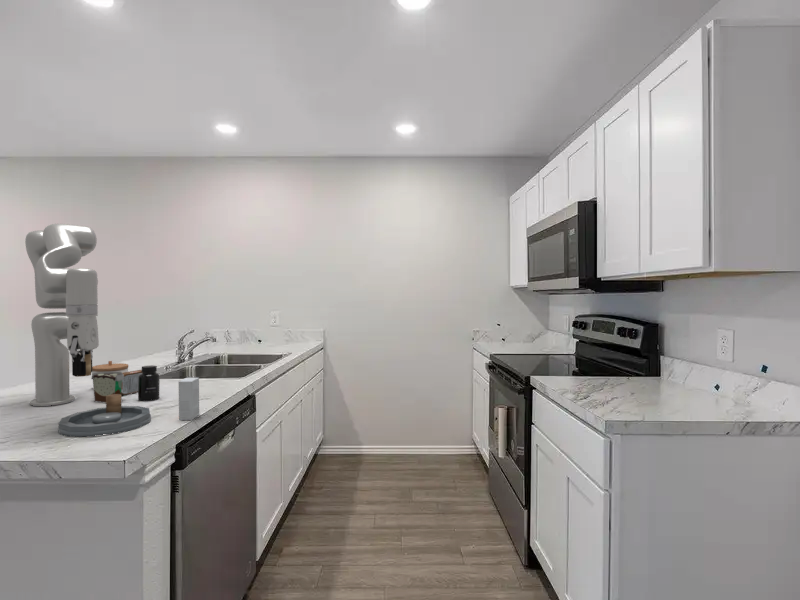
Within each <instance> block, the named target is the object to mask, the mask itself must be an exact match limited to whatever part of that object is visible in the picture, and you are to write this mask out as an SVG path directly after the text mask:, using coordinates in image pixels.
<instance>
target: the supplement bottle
mask: <svg viewBox="0 0 800 600" xmlns="http://www.w3.org/2000/svg"><path fill="white" fill-rule="evenodd" d="M140 370H141V372H142V374H140V375H139V377H138V392H137V399H138V400H139V401H140V402H148V401H155V400H158V399H159V398H160V380H161V379H160V378H161V377H160V373H157V371H158V370H157V365H154V364H153V365H144V366H141V369H140Z"/></svg>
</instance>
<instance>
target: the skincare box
mask: <svg viewBox="0 0 800 600" xmlns="http://www.w3.org/2000/svg"><path fill="white" fill-rule="evenodd" d="M199 415H200V377H185V378H182V379H180V380H179V381H178V420H179V421H193V420H194V419H195V418H197V417H198V416H199Z"/></svg>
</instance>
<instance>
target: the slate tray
mask: <svg viewBox="0 0 800 600" xmlns="http://www.w3.org/2000/svg"><path fill="white" fill-rule="evenodd" d="M150 412H151V411H150V408H149V407H144V406H140V405H121V413H118V412H110V413H106V406H105V407H98V408H92V409H87V410H83V411H78V412H74V413H72V414H69V415H66V416H64V417H62V418H61V419H60V421H59V422H58V428H57V430H58V432H57V433H58V434H59V433H60V434H59V435H61V434H62V435H61V436H64V435H65V437H70V436H75V437H74V438H83V437H82V436H93V437H96V436H95V435H103V434H110V435H113V434H112V433H116V434H119V433H118V432H121V433H125V432H128V431H133V430H136V429H139V428H141V427H144V426H146V425H148V424H149V423H150V422H151V421H152V415H151V413H150ZM124 431H125V432H124ZM76 436H78V437H76ZM103 436H104V435H103Z"/></svg>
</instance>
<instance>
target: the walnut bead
mask: <svg viewBox="0 0 800 600" xmlns="http://www.w3.org/2000/svg"><path fill="white" fill-rule="evenodd" d="M121 406H122V395H121V394H112V395H107V396H106V403H105V407H106V413H110V412H118V413H121Z"/></svg>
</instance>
